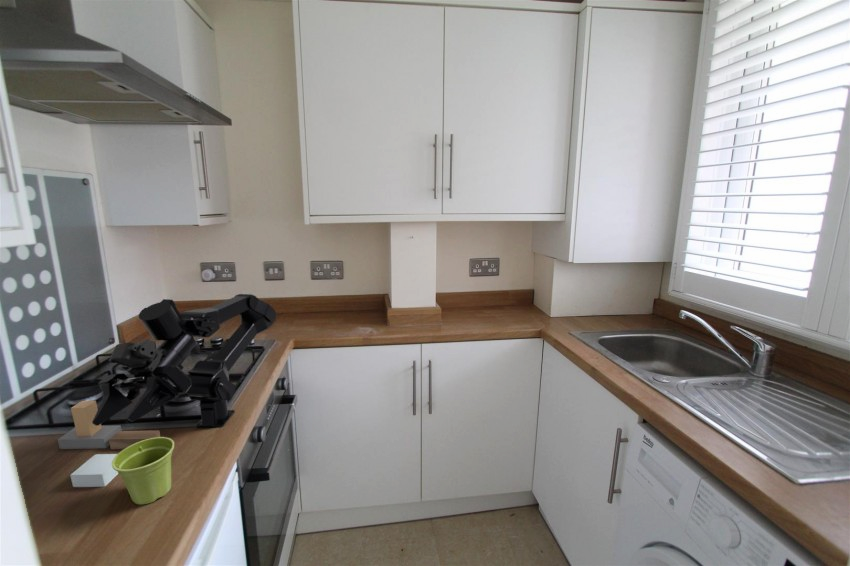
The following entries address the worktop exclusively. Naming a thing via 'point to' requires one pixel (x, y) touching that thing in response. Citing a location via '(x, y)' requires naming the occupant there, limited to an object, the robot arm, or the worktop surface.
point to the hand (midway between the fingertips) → (111, 422)
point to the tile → (95, 472)
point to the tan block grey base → (87, 429)
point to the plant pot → (146, 468)
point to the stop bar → (130, 438)
